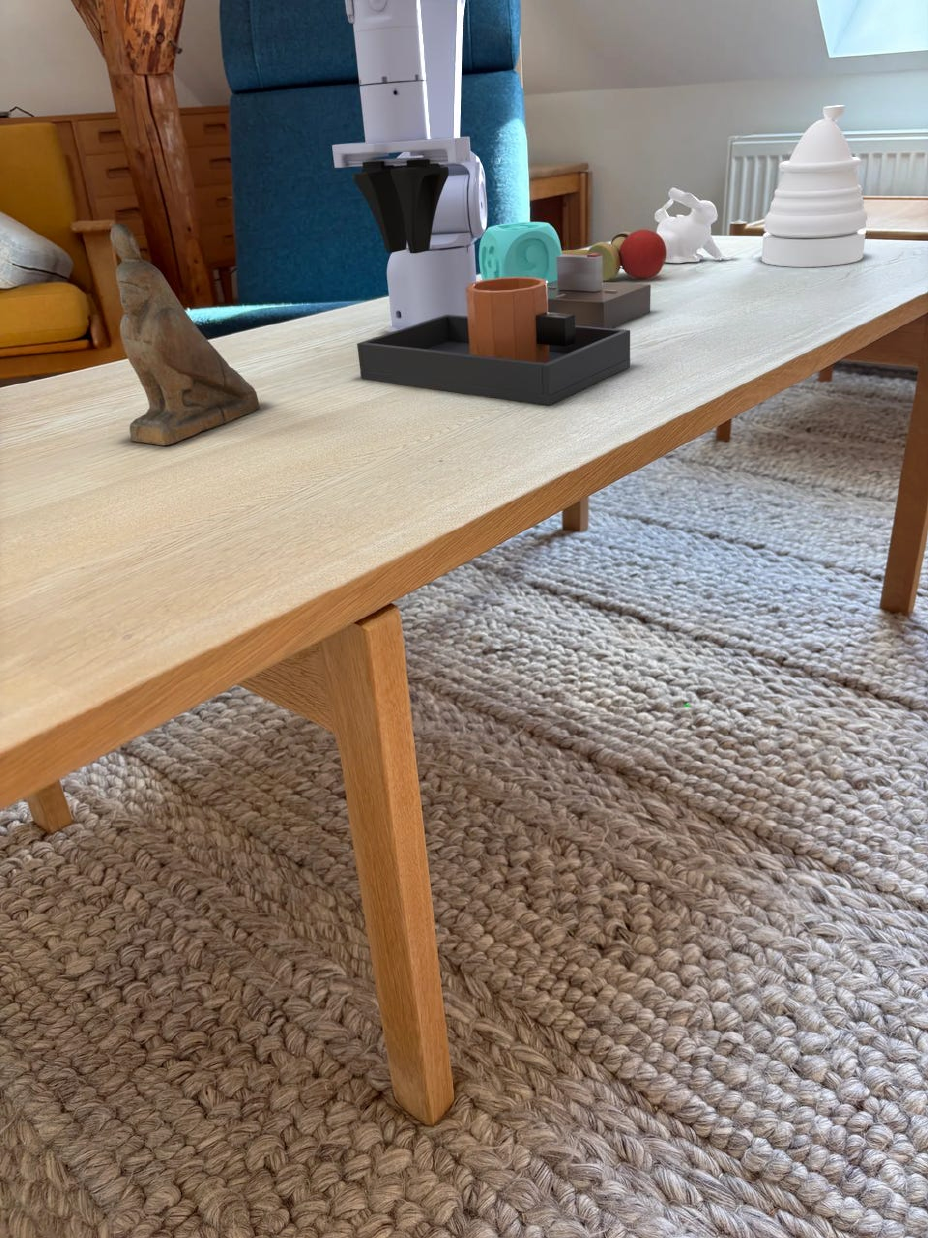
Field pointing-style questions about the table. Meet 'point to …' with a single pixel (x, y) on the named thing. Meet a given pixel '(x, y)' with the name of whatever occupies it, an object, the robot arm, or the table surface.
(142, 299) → the worn brown figurine
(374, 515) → the table surface
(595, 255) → the grey block with red
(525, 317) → the pot
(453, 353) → the dark grey tray
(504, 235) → the decorative dice
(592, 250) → the kendama
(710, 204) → the rabbit figurine
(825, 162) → the honey pot
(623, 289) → the panel
